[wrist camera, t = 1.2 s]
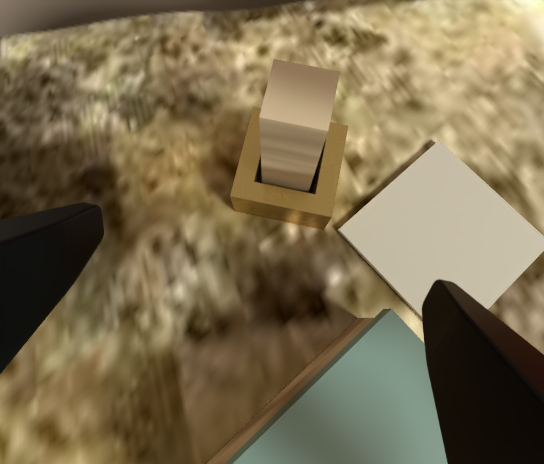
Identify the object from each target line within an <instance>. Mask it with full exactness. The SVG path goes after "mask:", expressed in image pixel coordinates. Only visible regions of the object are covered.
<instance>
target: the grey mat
mask: <svg viewBox="0 0 544 464" xmlns="http://www.w3.org/2000/svg"><path fill="white" fill-rule="evenodd" d="M338 232H339V233H340V234H341V235H342V236H343V237H344V238H345V239H346V240H347V241H348V242H349V244H350V245H351V246H352V247H353V248H354V249H355V250H356V251H357V252H358V253H359V254H360V255H361V256H362V257H363V258H364V259H365V260H366V261H367V262H368V264H369V265H370V266H371V267H372V268H373V269H374V270H375V271H376V272H377V273H378V274H379V275H380V276H381V277H382V278H383V279H384V280H385V281H386V282H387V284H388V285H389V286H390V287H391V288H392V289H393V290H394V291H395V292H396V293H397V294H398V295H399V296H400V297H401V298H402V299H403V300H404V301H405V302H406V304H407V305H408V306H409V307H410V308H411V309H412V310H413V311H414V312H415V313H416V314H417V315H418V316H419V317H420V318H421V319H422V304H423V302H424V300H425V298H426V296H427V294H428V292H429V290H430V288H431V286H432V284H433V283H434V282H435V281H436V280H438V279H442V280H446V281H451V282H454V283H455V284H457V285H458V286H459V287H460V288H462V289H463V290H464V291H465V292H467V293H468V294H469V295H470V296H472V297H473V298H474V299H475V300H476V301H478V302H479V303H480V304H481V305H483V306H484V307H485V308H486V309H488V308H489V307H490V306H491V305H492V304H493V303H494V302H495V301H496V300H497V299H498V298H499V297H500V296H501V295H502V294H503V293H504V292H505V291H506V290H507V289H508V287H509V286H510V285H511V284H512V283H513V282H514V281H515V280H516V279H517V278H518V277H519V276H520V275H521V274H522V273H523V272H524V271H525V270H526V269H527V268H528V267H529V265H530V264H531V263H532V262H533V261H534V260H535V259H536V258H537V257H538V256H539V255H540V254H541V253H542V252H543V251H544V236H543V235H542V234H541V233H540V232H538V231H537V230H536V229H535V228H534V227H533V226H532V225H531V224H530V223H529V222H528V221H526V220H525V219H524V218H523V217H522V216H521V215H520V214H519V213H518V212H517V211H516V210H515V209H513V208H512V207H511V206H510V205H509V204H508V203H507V202H506V201H505V200H504V199H503V198H501V197H500V196H499V195H498V194H497V193H496V192H495V191H494V190H493V189H492V188H491V187H489V186H488V185H487V184H486V183H485V182H484V181H483V180H482V179H481V178H480V177H479V176H478V175H476V174H475V173H474V172H473V171H472V170H471V169H470V168H469V167H468V166H467V165H466V164H464V163H463V162H462V161H461V160H460V159H459V158H458V157H457V156H456V155H455V154H454V153H453V152H451V151H450V150H449V149H448V148H447V147H446V146H445V145H444V144H443V143H442V142H441V141H437V142H436V143H435V144H434V145H433V146H432V147H431V148H430V149H428V150H427V151H426V152H425V153H424V154H423V155H422V156H421V157H419V158H418V159H417V160H416V161H415V162H414V163H413V164H411V165H410V166H409V167H408V168H407V169H406V170H405V171H404V172H402V173H401V174H400V175H399V176H398V177H397V178H396V179H395V180H393V181H392V182H391V183H390V184H389V185H388V186H387V187H386V188H384V189H383V190H382V191H381V192H380V193H379V194H378V195H377V196H375V197H374V198H373V199H372V200H371V201H370V202H369V203H368V204H366V205H365V206H364V207H363V208H362V209H361V210H360V211H359V212H357V213H356V214H355V215H354V216H353V217H352V218H351V219H350V220H348V221H347V222H346V223H345V224H344V225H343V226H342V227H341V228H339V229H338Z"/></svg>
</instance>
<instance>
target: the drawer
mask: <svg viewBox="0 0 544 464" xmlns="http://www.w3.org/2000/svg"><path fill="white" fill-rule="evenodd" d="M206 464H448V463H447V459H446V454H445V449H444V444H443V440H442V435H441V430H440V426H439V421H438V416H437V411H436V407H435V402H434V397H433V392H432V388H431V383H430V378H429V374H428V368H427V363H426V355H425V344H424V343H423V342H422V341H421V340H420V339H419V337H418V336H417V335H416V334H415V333H414V332H413V331H412V330H411V329H410V328H409V327H408V326H407V325H406V324H405V323H404V321H403V320H402V319H401V318H400V317H399V316H398V315H397V314H396V313H395V312H394V311H393V310H392V309H383V310H382V311H381V312H380V313H379V314H378V315H377V316H376V317H375V318H357V319H356V320H355V321H354V322H353V323H352V324H351V325H350V326H349V327H348V328H347V329H346V330H345V331H344V332H343V333H342V334H341V335H340V336H339V337H338V338H336V339H335V340H334V341H333V342H332V343H331V344H330V345H329V346H328V347H327V348H326V349H325V350H324V351H323V352H322V353H321V354H320V355H319V356H318V357H317V358H316V359H315V360H314V361H313V362H311V363H310V364H309V365H308V366H307V367H306V368H305V369H304V370H303V371H302V372H301V373H300V374H299V375H298V376H297V377H296V378H295V379H294V380H293V381H292V382H291V383H290V384H289V385H288V386H287V387H285V388H284V389H283V390H282V391H281V392H280V393H279V394H278V395H277V396H276V397H275V398H274V399H273V400H272V401H271V402H270V403H269V404H268V405H267V406H266V407H265V408H264V409H263V410H262V411H260V412H259V413H258V414H257V415H256V416H255V417H254V418H253V419H252V420H251V421H250V422H249V423H248V424H247V425H246V426H245V427H244V428H243V429H242V430H241V431H240V432H239V433H238V434H237V435H235V436H234V437H233V438H232V439H231V440H230V441H229V442H228V443H227V444H226V445H225V446H224V447H223V448H222V449H221V450H220V451H219V452H218V453H217V454H216V455H215V456H214V457H213V458H212V459H210V460H209V461H208V462H207V463H206Z"/></svg>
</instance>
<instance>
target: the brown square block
mask: <svg viewBox="0 0 544 464" xmlns="http://www.w3.org/2000/svg"><path fill="white" fill-rule="evenodd" d="M339 73H340V72H338V71H333V70H328V69H323V68H318V67H312V66H307V65H302V64H297V63H291V62H286V61H281V60H276V59H274V61H273V65H272V69H271V73H270V77H269V81H268V85H267V89H266V93H265V97H264V101H263V104H262V108H261V112H260V116H259V123H260V146H261V169H262V184H267V185H272V186H277V187H282V188H287V189H291V190H296V191H301V192H306V193H308V192H309V189H310V186H311V183H312V180H313V177H314V174H315V170H316V167H317V164H318V161H319V158H320V155H321V152H322V149H323V146H324V143H325V140H326V136H327V133H328V130H329V125H330V120H331V114H332V109H333V104H334V99H335V94H336V89H337V84H338V79H339Z"/></svg>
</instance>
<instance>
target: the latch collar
mask: <svg viewBox="0 0 544 464" xmlns="http://www.w3.org/2000/svg"><path fill="white" fill-rule="evenodd" d="M260 112H261V108H256V107H253V109H252V113H251V117H250V121H249V125H248V129H247V133H246V136H245V140H244V144H243V148H242V152H241V156H240V160H239V163H238V167H237V171H236V175H235V179H234V183H233V187H232V190H231V194H230V197H231V201H232V204H233V207H234V210H235V211H237V212H242V213H247V214H251V215H256V216H261V217H266V218H270V219H275V220H280V221H285V222H290V223H294V224H299V225H304V226H309V227H313V228H318V229H323V230H324V228H325V227H326V225H327V224H328V222H329V221H330V219H331V217H332V212H333V207H334V201H335V196H336V190H337V185H338V179H339V174H340V168H341V163H342V157H343V152H344V146H345V140H346V135H347V129H348V126H347V125H342V124H337V123H331V122H330V125H329V130H328V133H327V136H326V140H325V143H324V146H323V149H322V152H321V155H320V158H319V165H318V170H317V175H316V180H315V185H314V190H313V194H311V193H306V192H301V191H296V190H291V189H287V188H282V187H277V186H272V185H267V184H262V183H259V182H260V178H261V174H262V169H261V146H260V123H259V116H260Z"/></svg>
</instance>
